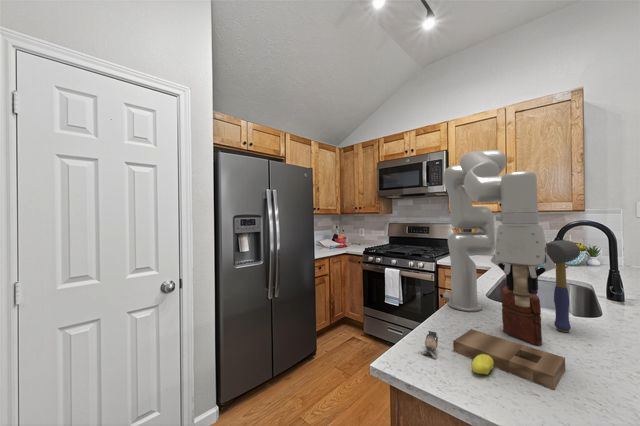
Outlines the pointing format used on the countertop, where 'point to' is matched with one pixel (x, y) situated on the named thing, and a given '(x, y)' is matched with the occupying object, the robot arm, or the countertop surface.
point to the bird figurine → (430, 344)
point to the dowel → (521, 285)
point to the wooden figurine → (522, 318)
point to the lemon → (482, 364)
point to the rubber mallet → (562, 279)
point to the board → (513, 357)
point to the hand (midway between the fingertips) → (521, 290)
